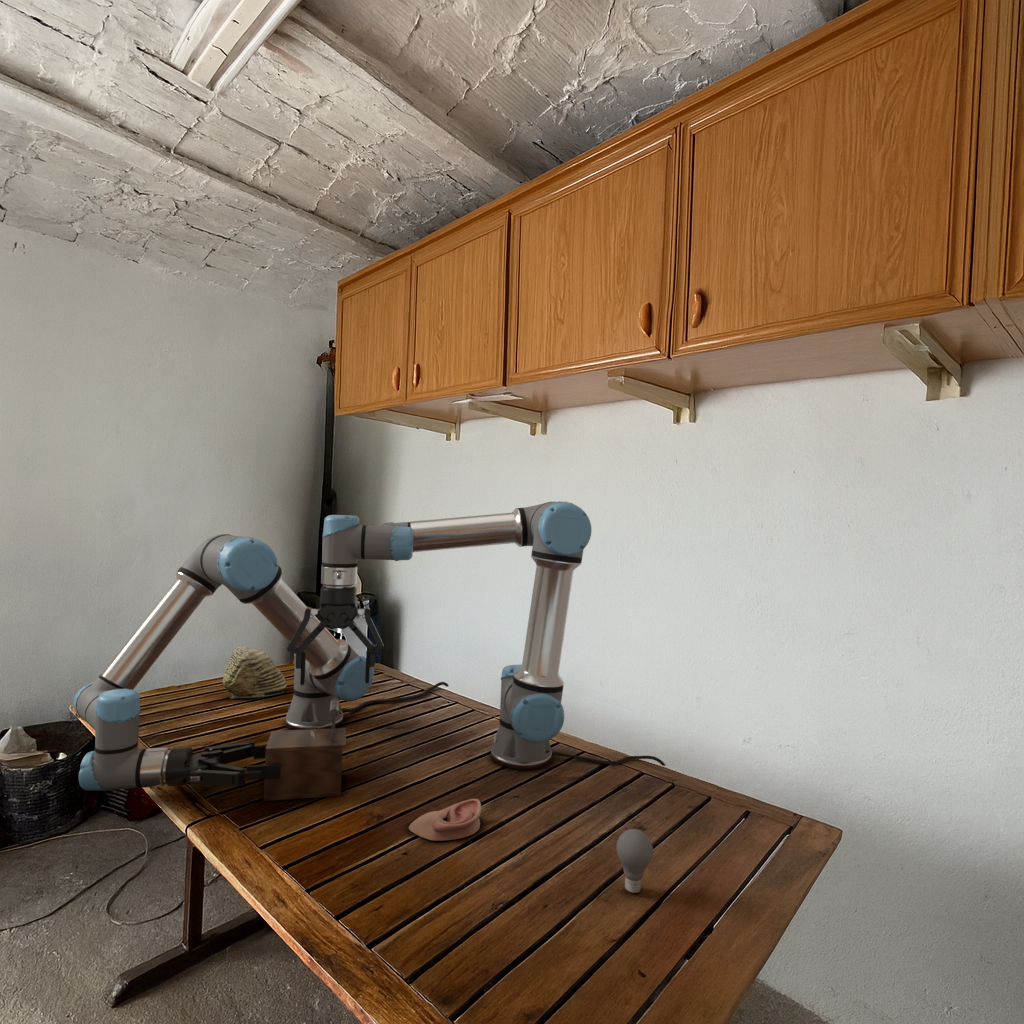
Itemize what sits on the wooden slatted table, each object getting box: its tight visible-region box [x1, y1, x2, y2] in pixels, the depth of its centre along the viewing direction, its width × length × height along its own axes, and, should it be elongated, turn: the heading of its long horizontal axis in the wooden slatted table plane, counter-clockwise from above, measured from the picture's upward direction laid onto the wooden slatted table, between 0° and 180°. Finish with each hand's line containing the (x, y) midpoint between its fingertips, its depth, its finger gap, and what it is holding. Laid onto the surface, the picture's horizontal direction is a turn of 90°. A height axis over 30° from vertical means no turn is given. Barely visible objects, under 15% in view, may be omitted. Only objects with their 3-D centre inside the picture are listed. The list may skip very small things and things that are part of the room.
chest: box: [263, 748, 344, 802], centre depth 137 cm, size 15×10×10 cm, turn 104°
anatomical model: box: [408, 798, 482, 842], centre depth 124 cm, size 13×4×12 cm
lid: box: [266, 699, 347, 752], centre depth 137 cm, size 16×10×8 cm, turn 104°
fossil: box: [222, 646, 288, 699], centre depth 198 cm, size 9×18×15 cm, turn 132°
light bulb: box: [615, 828, 654, 894], centre depth 106 cm, size 6×6×10 cm
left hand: (282, 760), depth 136 cm, fingers closed on chest, 10 cm apart
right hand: (335, 682), depth 139 cm, fingers open, 13 cm apart
